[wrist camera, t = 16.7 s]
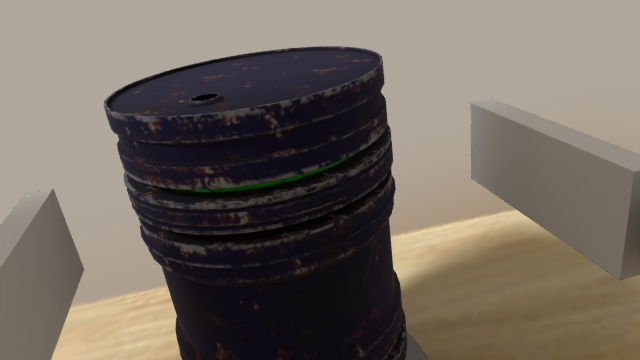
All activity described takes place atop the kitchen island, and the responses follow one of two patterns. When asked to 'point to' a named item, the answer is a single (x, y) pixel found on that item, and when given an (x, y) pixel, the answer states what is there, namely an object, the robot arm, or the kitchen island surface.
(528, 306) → the kitchen island surface
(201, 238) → the dark blue cylinder
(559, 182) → the robot arm
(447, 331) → the kitchen island surface
